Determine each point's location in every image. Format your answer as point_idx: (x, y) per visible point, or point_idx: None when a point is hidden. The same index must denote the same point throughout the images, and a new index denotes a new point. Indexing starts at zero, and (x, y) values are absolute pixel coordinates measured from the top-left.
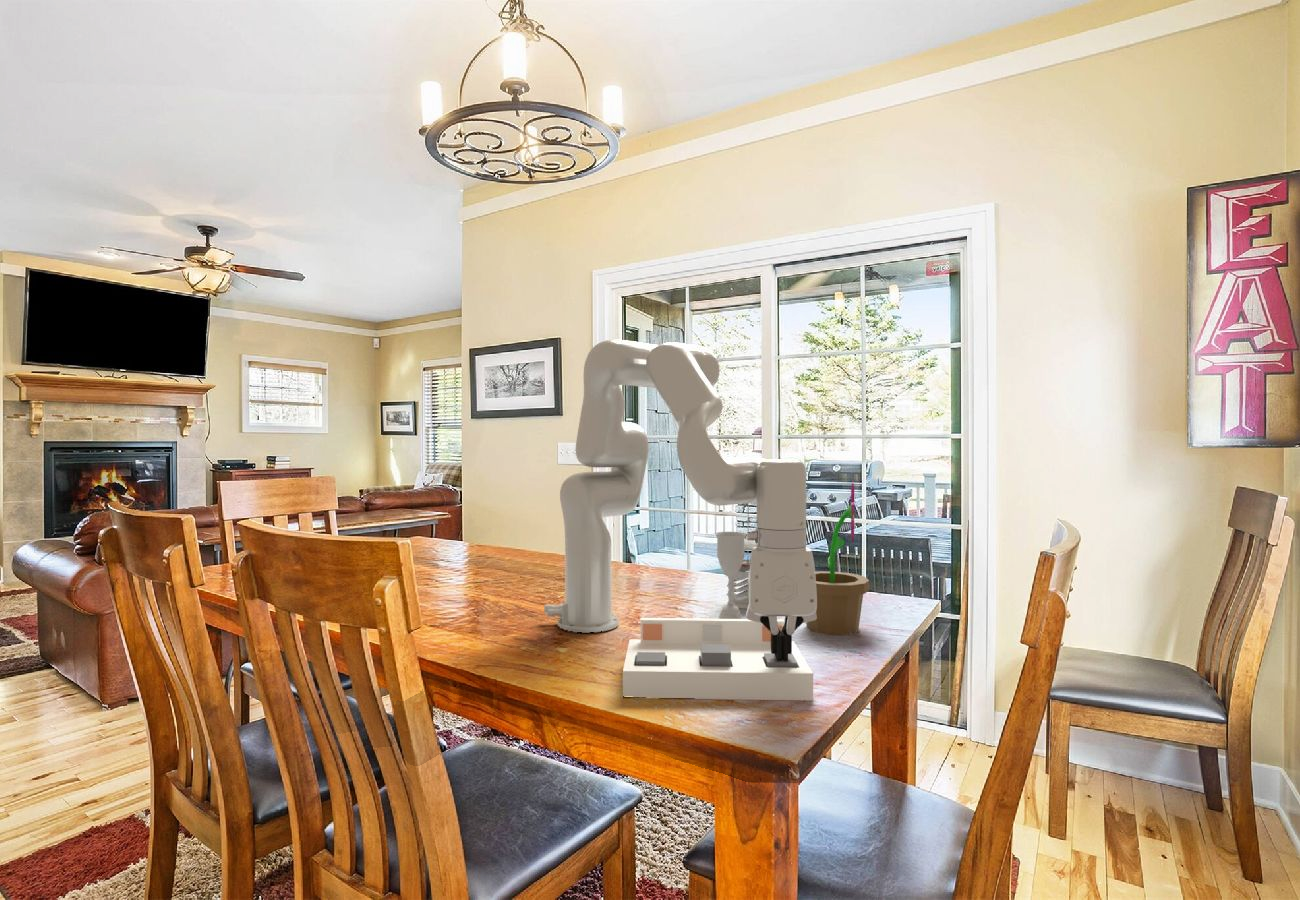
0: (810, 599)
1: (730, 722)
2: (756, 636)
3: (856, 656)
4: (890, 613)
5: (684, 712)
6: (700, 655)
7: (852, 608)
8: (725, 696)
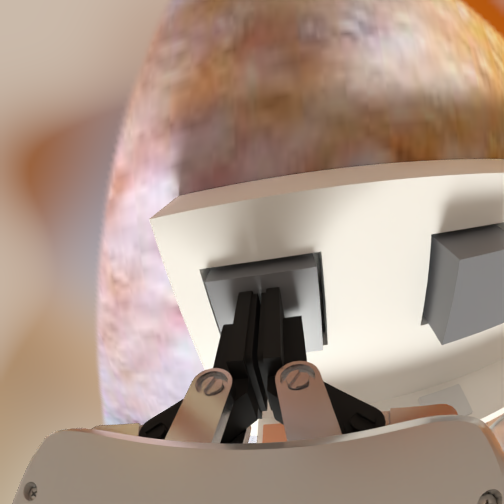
0: (36, 500)
1: (388, 22)
2: None
3: (140, 419)
4: None
5: (482, 82)
6: None
7: None
8: (419, 162)
